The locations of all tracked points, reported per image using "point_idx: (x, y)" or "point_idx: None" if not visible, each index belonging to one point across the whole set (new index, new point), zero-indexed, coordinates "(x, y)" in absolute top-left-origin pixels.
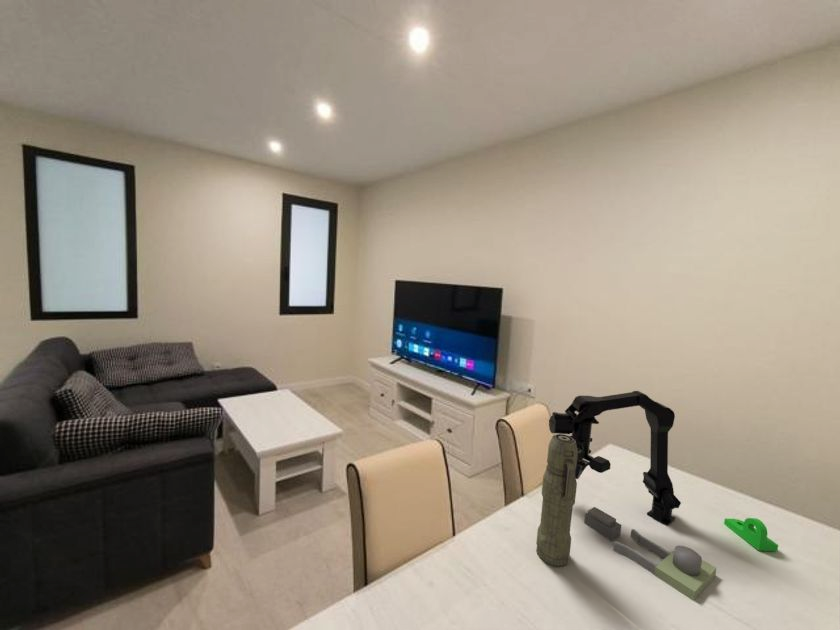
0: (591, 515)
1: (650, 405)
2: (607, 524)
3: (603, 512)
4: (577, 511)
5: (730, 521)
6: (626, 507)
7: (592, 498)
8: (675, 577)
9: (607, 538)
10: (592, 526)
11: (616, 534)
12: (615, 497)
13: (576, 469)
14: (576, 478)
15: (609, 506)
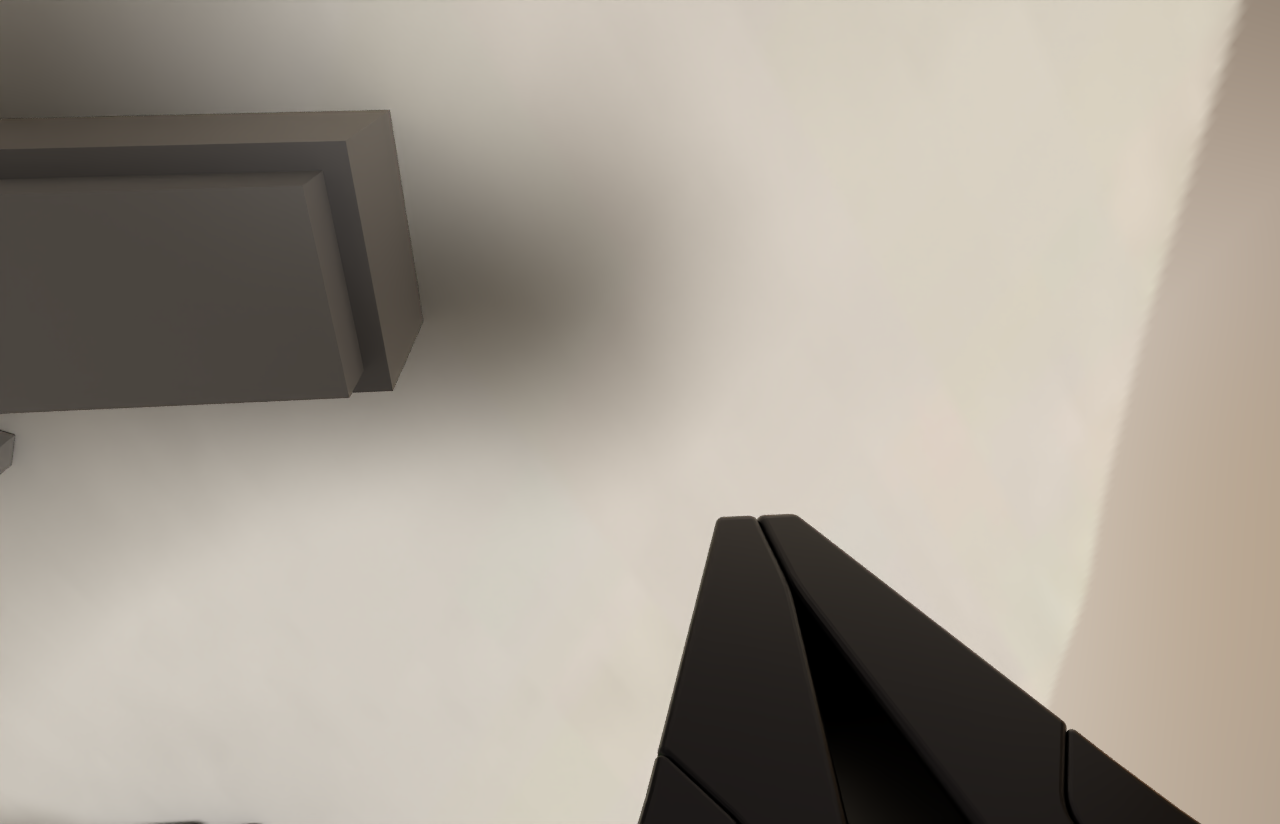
0: (242, 174)
1: None
2: None
3: (174, 388)
4: (624, 296)
5: None
6: (422, 779)
7: (679, 645)
8: None
9: (19, 119)
10: (242, 119)
11: None
12: (570, 814)
13: (841, 800)
14: (730, 524)
15: (505, 674)
